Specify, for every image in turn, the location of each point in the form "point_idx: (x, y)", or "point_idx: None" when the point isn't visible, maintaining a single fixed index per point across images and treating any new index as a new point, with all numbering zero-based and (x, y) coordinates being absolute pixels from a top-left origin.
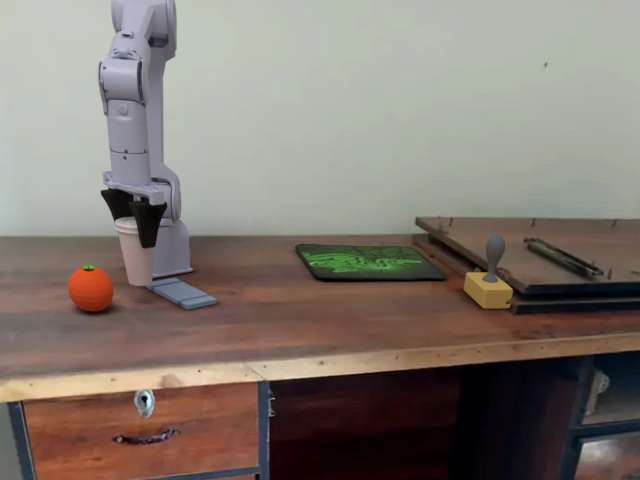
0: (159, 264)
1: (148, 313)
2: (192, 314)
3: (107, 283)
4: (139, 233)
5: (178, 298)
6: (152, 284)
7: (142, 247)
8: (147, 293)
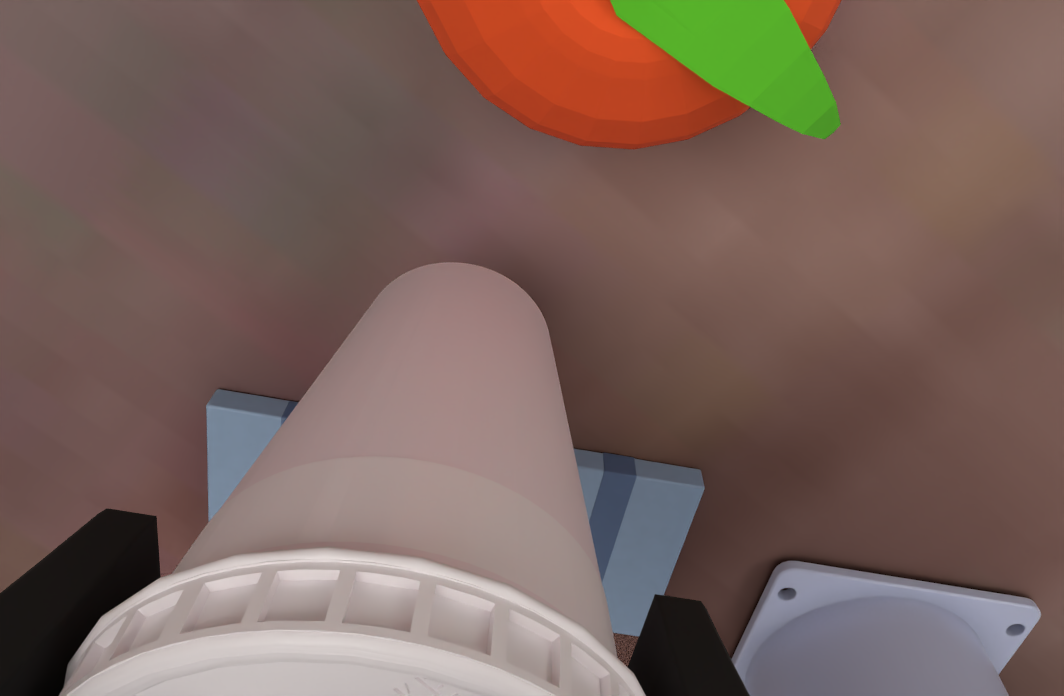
0: (784, 682)
1: (302, 179)
2: (135, 361)
3: (429, 3)
4: (6, 643)
5: None
6: (649, 498)
7: (132, 514)
8: (613, 412)
